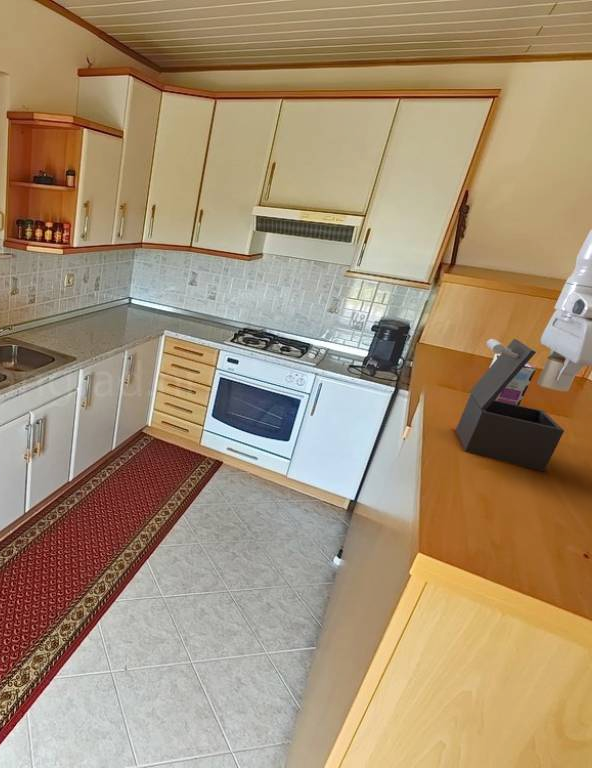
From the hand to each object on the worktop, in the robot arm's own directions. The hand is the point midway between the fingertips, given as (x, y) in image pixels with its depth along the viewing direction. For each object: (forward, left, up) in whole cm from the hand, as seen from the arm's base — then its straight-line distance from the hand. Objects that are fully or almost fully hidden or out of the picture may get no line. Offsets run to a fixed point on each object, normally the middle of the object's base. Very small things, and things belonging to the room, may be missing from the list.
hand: (556, 379), depth 89 cm
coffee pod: (0, 0, -2) cm, 2 cm away
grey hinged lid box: (+2, -6, -18) cm, 19 cm away
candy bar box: (+1, -22, -18) cm, 29 cm away
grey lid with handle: (+6, -6, -2) cm, 9 cm away
